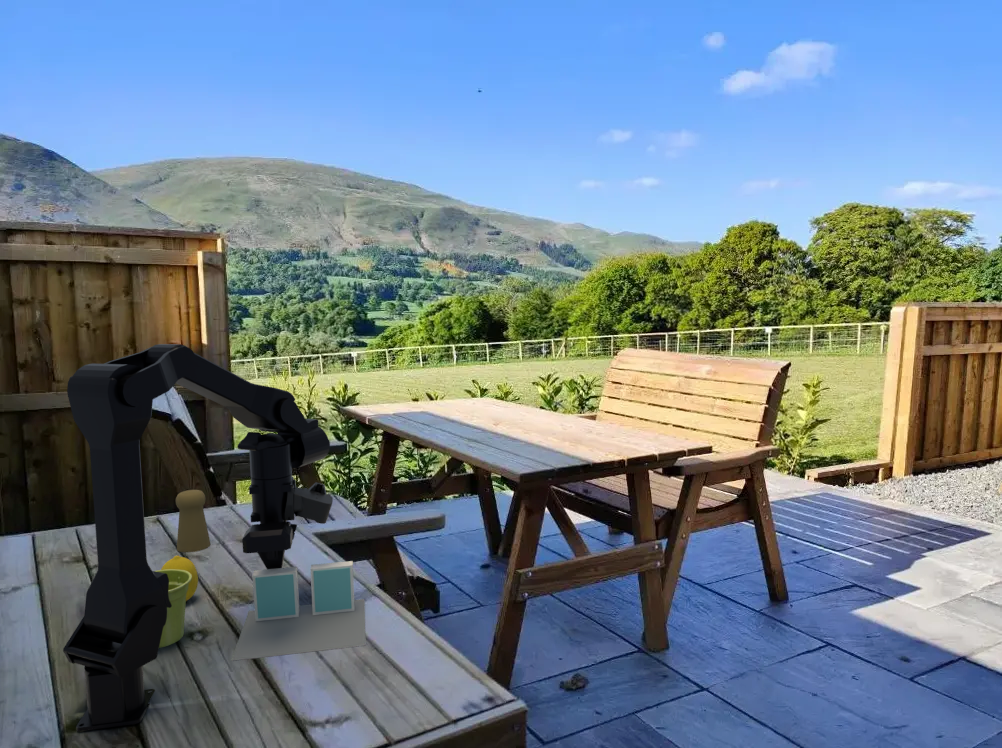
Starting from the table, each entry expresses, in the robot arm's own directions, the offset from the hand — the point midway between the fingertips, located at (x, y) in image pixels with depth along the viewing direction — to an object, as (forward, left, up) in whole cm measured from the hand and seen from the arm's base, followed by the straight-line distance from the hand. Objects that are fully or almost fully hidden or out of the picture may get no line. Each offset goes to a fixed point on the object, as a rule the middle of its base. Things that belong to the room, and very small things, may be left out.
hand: (276, 578), depth 103 cm
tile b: (-2, -8, -5) cm, 10 cm away
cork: (+35, +19, -6) cm, 41 cm away
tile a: (-2, 0, -5) cm, 5 cm away
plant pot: (-5, +15, -6) cm, 17 cm away
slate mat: (-6, -4, -6) cm, 9 cm away
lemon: (+7, +15, -6) cm, 18 cm away
